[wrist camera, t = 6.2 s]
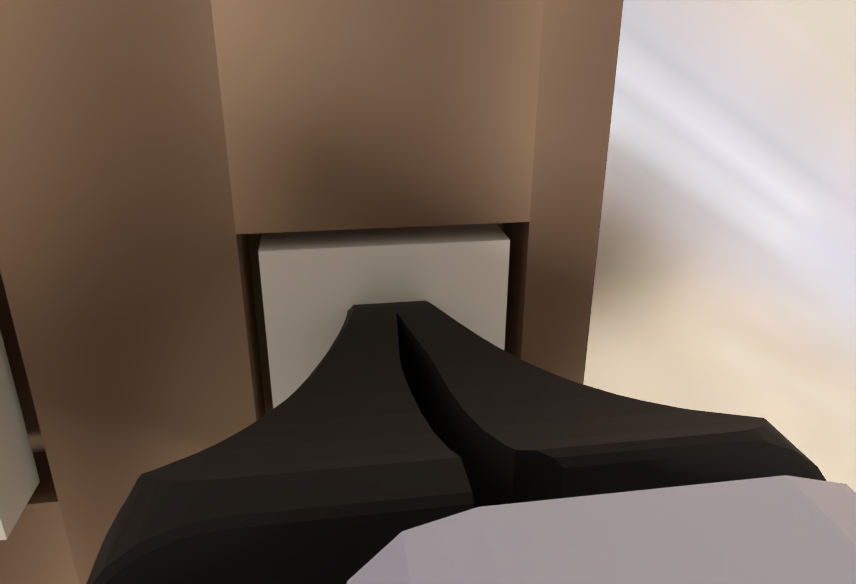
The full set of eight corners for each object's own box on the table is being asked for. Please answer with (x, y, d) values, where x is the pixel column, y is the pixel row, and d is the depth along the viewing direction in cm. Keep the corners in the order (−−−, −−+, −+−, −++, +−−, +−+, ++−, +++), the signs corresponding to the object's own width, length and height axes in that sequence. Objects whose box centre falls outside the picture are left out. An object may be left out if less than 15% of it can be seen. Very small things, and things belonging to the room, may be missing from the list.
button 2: (281, 421, 13) (278, 465, 12) (264, 225, 12) (258, 251, 11) (482, 405, 14) (498, 446, 13) (489, 215, 12) (510, 240, 11)
